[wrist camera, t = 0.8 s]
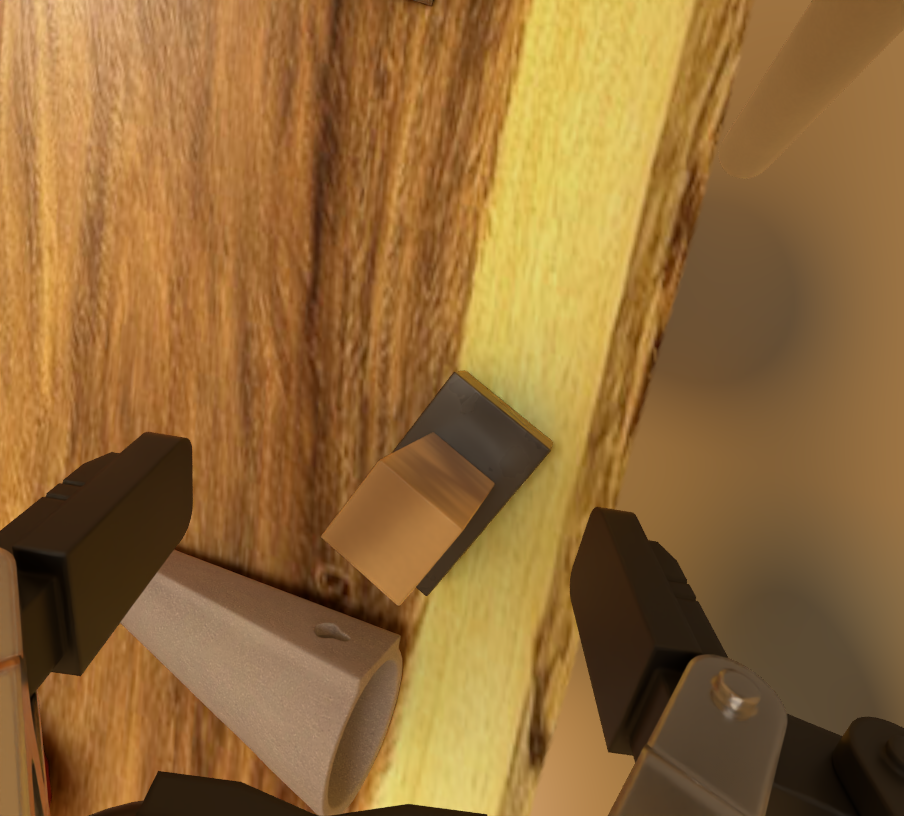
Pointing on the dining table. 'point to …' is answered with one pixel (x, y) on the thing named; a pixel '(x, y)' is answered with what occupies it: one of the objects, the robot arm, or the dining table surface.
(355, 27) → the dining table surface
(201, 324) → the dining table surface
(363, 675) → the grey tapered wedge
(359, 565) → the eraser
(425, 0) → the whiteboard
